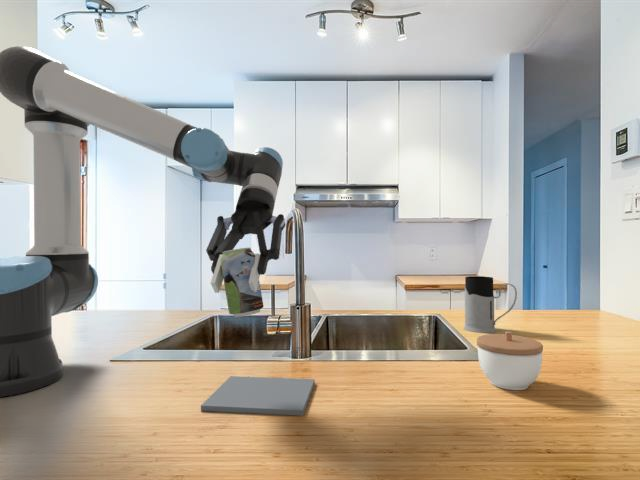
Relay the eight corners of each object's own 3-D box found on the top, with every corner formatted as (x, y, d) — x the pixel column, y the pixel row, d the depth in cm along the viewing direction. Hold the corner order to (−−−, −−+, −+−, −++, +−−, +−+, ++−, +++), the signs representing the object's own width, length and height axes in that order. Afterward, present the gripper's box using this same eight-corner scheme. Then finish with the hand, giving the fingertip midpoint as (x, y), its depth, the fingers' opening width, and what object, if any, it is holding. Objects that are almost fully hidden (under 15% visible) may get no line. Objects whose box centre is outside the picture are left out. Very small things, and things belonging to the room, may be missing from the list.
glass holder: (468, 324, 118) (467, 275, 118) (519, 330, 110) (519, 277, 110) (459, 330, 111) (459, 278, 111) (514, 337, 103) (513, 280, 103)
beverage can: (256, 319, 65) (255, 247, 64) (215, 319, 66) (213, 248, 66) (268, 312, 71) (266, 246, 71) (230, 312, 72) (228, 247, 72)
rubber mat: (200, 410, 60) (200, 405, 60) (230, 380, 73) (230, 376, 73) (302, 415, 58) (302, 410, 58) (314, 383, 71) (314, 379, 71)
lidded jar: (516, 400, 63) (516, 342, 63) (464, 379, 72) (463, 329, 72) (556, 388, 68) (556, 334, 68) (502, 370, 77) (502, 323, 77)
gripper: (303, 212, 83) (291, 300, 67) (219, 214, 86) (187, 301, 69) (298, 184, 78) (284, 272, 62) (209, 187, 80) (172, 274, 64)
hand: (233, 287), depth 66 cm, fingers closed on beverage can, 6 cm apart
